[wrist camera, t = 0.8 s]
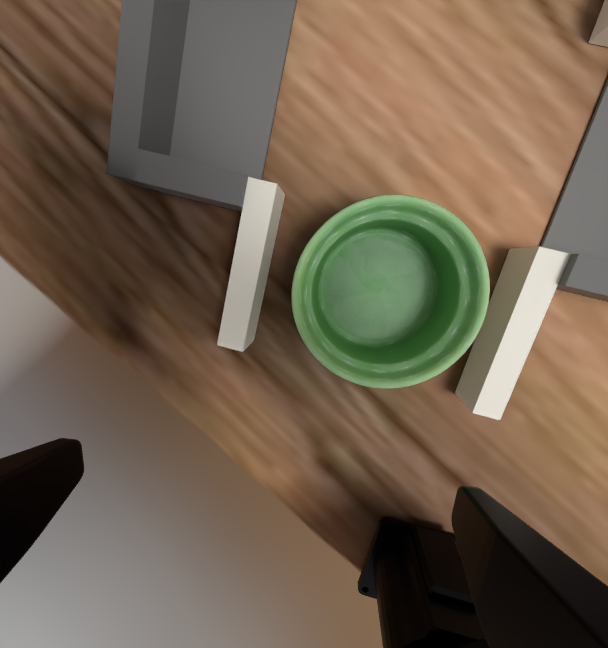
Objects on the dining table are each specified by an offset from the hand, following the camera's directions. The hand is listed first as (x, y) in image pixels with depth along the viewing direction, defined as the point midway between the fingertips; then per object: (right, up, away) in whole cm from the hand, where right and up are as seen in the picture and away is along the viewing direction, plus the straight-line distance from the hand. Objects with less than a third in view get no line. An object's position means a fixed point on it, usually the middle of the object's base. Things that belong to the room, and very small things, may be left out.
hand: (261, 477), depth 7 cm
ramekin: (+5, +6, +11) cm, 14 cm away
